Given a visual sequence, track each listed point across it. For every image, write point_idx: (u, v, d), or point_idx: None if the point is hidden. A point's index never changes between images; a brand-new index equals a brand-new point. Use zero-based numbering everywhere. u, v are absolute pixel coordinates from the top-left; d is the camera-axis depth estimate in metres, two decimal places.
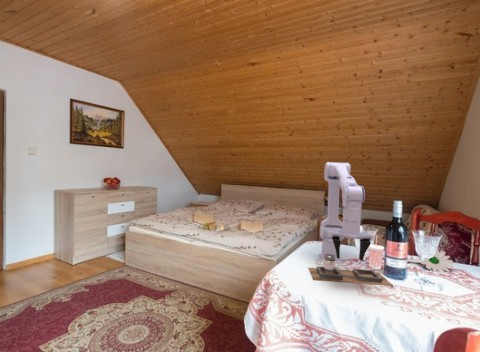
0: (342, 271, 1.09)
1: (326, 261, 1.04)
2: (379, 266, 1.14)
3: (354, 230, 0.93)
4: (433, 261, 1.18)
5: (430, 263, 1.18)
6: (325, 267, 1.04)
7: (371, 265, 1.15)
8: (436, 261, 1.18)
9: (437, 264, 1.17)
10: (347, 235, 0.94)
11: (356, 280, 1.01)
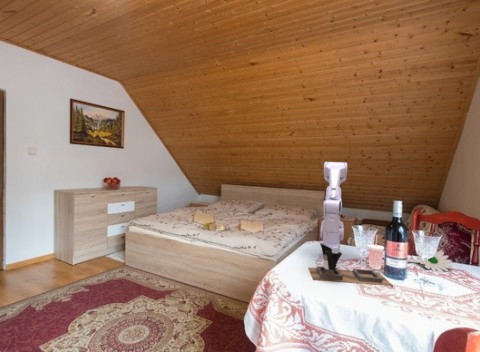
0: (342, 271, 1.09)
1: (326, 261, 1.04)
2: (379, 266, 1.14)
3: (323, 238, 1.05)
4: (432, 261, 1.19)
5: (429, 263, 1.18)
6: (325, 267, 1.04)
7: (371, 265, 1.15)
8: (435, 261, 1.18)
9: (436, 264, 1.18)
10: None
11: (356, 280, 1.01)
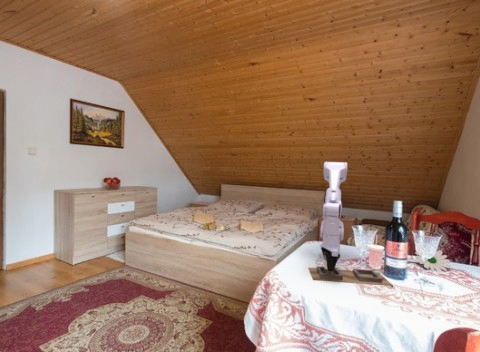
0: (342, 271, 1.09)
1: (326, 261, 1.04)
2: (379, 266, 1.14)
3: (323, 241, 1.05)
4: (431, 260, 1.19)
5: (428, 262, 1.19)
6: (325, 267, 1.04)
7: (371, 265, 1.15)
8: (434, 260, 1.19)
9: (435, 263, 1.18)
10: None
11: (356, 280, 1.01)
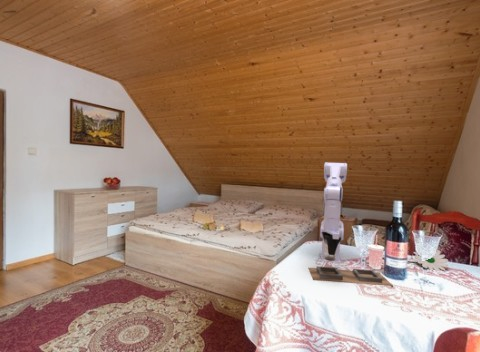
0: (342, 271, 1.09)
1: None
2: (379, 266, 1.14)
3: (324, 225, 1.04)
4: (429, 260, 1.20)
5: (426, 262, 1.19)
6: (326, 251, 1.04)
7: (371, 265, 1.15)
8: (432, 260, 1.19)
9: (433, 263, 1.19)
10: (323, 228, 1.06)
11: (356, 280, 1.01)
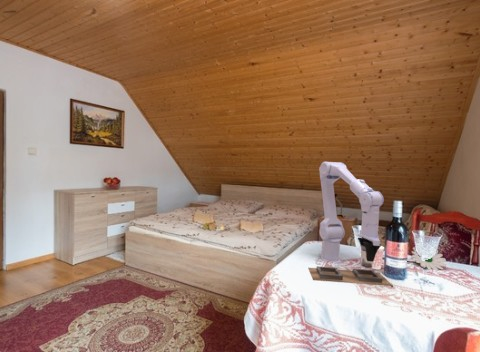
0: (342, 271, 1.09)
1: (364, 251, 1.03)
2: (379, 266, 1.14)
3: (362, 231, 1.03)
4: None
5: (424, 261, 1.20)
6: (363, 258, 1.03)
7: None
8: (430, 259, 1.20)
9: (431, 262, 1.19)
10: (360, 234, 1.05)
11: (356, 280, 1.01)
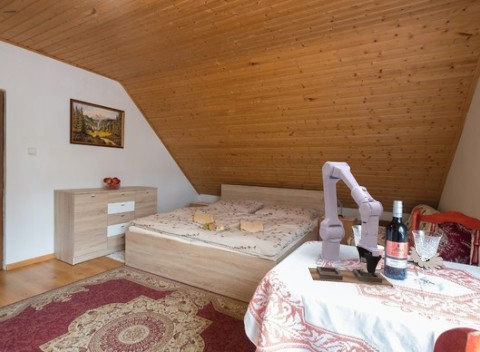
0: (342, 271, 1.09)
1: (363, 263, 1.03)
2: (379, 266, 1.14)
3: (361, 240, 1.03)
4: None
5: (422, 261, 1.21)
6: (362, 269, 1.03)
7: None
8: None
9: (428, 261, 1.20)
10: None
11: (356, 280, 1.01)
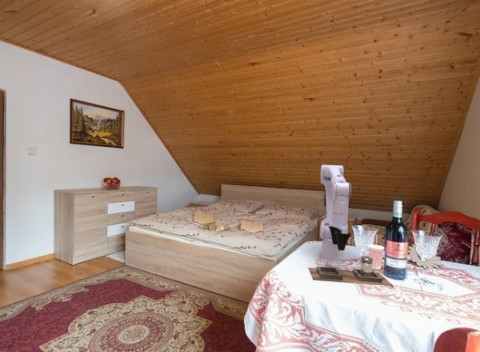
0: (342, 271, 1.09)
1: (363, 263, 1.03)
2: (379, 266, 1.14)
3: (332, 220, 1.08)
4: None
5: (420, 260, 1.21)
6: (362, 270, 1.03)
7: None
8: None
9: (426, 261, 1.21)
10: None
11: (356, 280, 1.01)
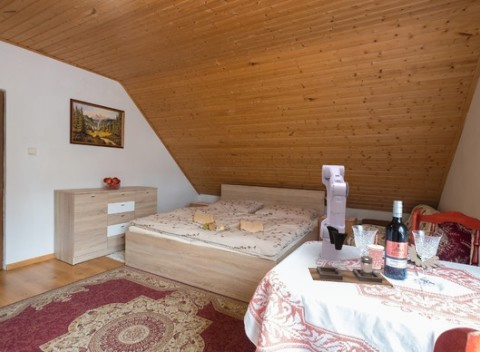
0: (342, 271, 1.09)
1: (363, 263, 1.03)
2: (379, 266, 1.14)
3: (330, 220, 1.08)
4: None
5: (418, 260, 1.22)
6: (362, 269, 1.03)
7: None
8: None
9: None
10: None
11: (356, 280, 1.01)
